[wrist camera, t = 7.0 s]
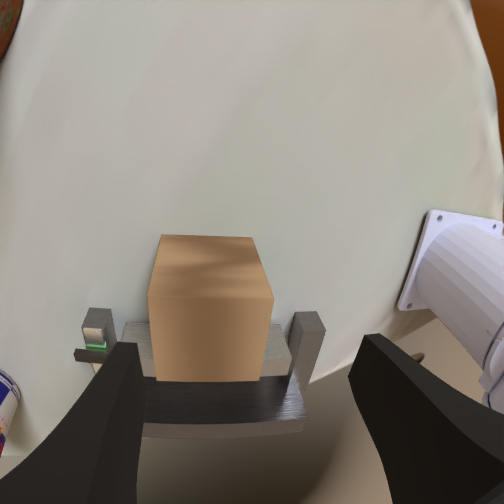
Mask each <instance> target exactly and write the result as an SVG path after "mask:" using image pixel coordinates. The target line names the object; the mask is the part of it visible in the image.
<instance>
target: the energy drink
mask: <svg viewBox="0 0 504 504" xmlns="http://www.w3.org/2000/svg"><path fill="white" fill-rule="evenodd" d="M19 400H20V392H19V390H18V387H17V385H16V384H15V382H14V381H13V380H12V379H11V378H10V377H9V376H8V375H7V374H6V373H5V372H3V371H2V370H0V457H1V453H2V450H3V447H4V443H5V440H6V437H7V434H8V431H9V428H10V425H11V422H12V419H13V416H14V414H15V411H16V408H17V405H18V403H19Z"/></svg>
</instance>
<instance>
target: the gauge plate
mask: <svg viewBox="0 0 504 504" xmlns="http://www.w3.org/2000/svg"><path fill="white" fill-rule="evenodd" d="M121 342H134V343H137V345H138V350H139V356H140V361H141V366H142V371H143V376H149V377H156V372H155V365H154V357H153V349H152V341H151V332H150V323H130V322H126V325H125V329H124V333H123V337H122V341H121ZM109 353H110V352H105V351H94V350H84V349H75V352H74V357H75V360H76V361H79V362H88V363H98V364H103V362H104V361H105V359H106V358H107V356H108V354H109ZM291 360H292V357H291V354H290V351H289V348H288V345H287V343H286V340H285V337H284V334H283V331H282V328H281V325H280V324H273V325H269V331H268V336H267V342H266V347H265V352H264V358H263V363H262V368H261V373H260V377H262V376H279V375H287V374H288V371H289V367H290V363H291Z"/></svg>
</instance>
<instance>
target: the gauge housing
mask: <svg viewBox="0 0 504 504" xmlns="http://www.w3.org/2000/svg"><path fill="white" fill-rule="evenodd" d="M81 328H82V332H83V335H84V339H85V343H86V348H87V350H94V351H105V352H110V351H111V350H112V348H113V346H114V345H115V344H116V343H117V340H116V335H115V330H114V324H113V319H112V313H111V309H101V308H89V310H88V312H87V315H86V317H85V320H84V322H83V325H82V327H81ZM325 332H326V329H325V327H324V325H323V323H322V321H321V319H320V317H319V315H318V314H317V312H316V311H315V312H295V316H294V321H293V325H292V329H291V334H290V338H289V342H288V348H289V351H290V354H291V357H292V360H291V363H290V367H289V371H288V374H287V375H279V376H262V377H260V379H259V381H233V382H177V381H157V379H156V377H149V376H144V380H145V385H146V396H145V417H144V424H143V431H142V437H152V438H176V439H214V438H215V439H217V438H241V437H256V436H267V435H277V434H287V433H296V432H302V431H303V428H304V426H305V424H306V422H307V419H308V414H307V411H306V409H305V406H304V403H303V400H302V397H301V394H300V391H305V390H306V389H307V386H308V383H309V380H310V378H311V375H312V372H313V369H314V366H315V363H316V360H317V357H318V354H319V351H320V348H321V345H322V342H323V338H324V335H325ZM101 365H102V364H98V363H92V366H93V370H94V373H95V375H96V373H97V371H98V370H99V368H100V367H101Z"/></svg>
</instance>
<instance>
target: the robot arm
mask: <svg viewBox="0 0 504 504" xmlns="http://www.w3.org/2000/svg"><path fill="white" fill-rule="evenodd" d="M438 216H439V218H438ZM437 218H438V219H437ZM502 230H503V222H501V221H499V220H493V219H488V218H483V217H477V216H471V215H465V214H459V213H453V212H447V211H441V210H434V209H433V210H430V211H429V212H428V214H427V216H426V220H425V224H424V227H423V230H422V234H421V237H420V240H419V244H418V247H417V250H416V253H415V256H414V259H413V262H412V265H411V268H410V271H409V274H408V277H407V280H406V282H405V285H404V288H403V291H402V293H401V296H400V299H399V301H398V304H397V308H398V309H399V310H400V311H410V310H421V309H431V310H432V312H433V313H434V314H435V315H436V316H437V317H438V318H439V319H440V320H441V321H442V323H443V324H444V325H445V326H446V327H447V328H448V329H449V331H450V332H451V333H452V334H453V335H454V336H455V337H456V339H457V340H458V341H459V342H460V343H461V344H462V346H463V347H464V348H465V349H466V350H467V352H468V353H469V354H470V355H471V356H472V358H473V359H474V360H475V361H476V363H477V364H478V365H479V366H480V367H481V369H482V370H483V374H482V375H481V377H480V379H479V383H480V384H481V385H482V387H483V388H484V389H485V393H484V395H483V398H482V404H480V403H478V402H476V401H474V400H473V399H471V398H469V397H467V396H466V395H464V394H462V393H461V392H459V391H457V390H456V389H454V388H453V387H451V386H450V385H448V384H447V383H445V382H444V381H442V380H441V379H439V378H438V377H437V376H435V375H434V374H432V373H431V372H430V371H429V370H427V369H426V368H424V367H423V366H422V365H421V364H419V363H418V362H417V361H415V360H414V359H413V358H412V357H410V356H409V355H408V354H406V353H405V352H404V351H403V350H401V349H400V348H399V347H397V346H396V345H395V344H394V343H392V342H391V341H390V340H388V339H387V338H385V337H384V336H383V335H381V334H380V333H378V334H370V335H364V337H363V340H362V343H361V345H360V348H359V350H358V353H357V355H356V358H355V360H354V363H353V365H352V368H351V370H350V372H349V375H348V378H349V382H350V385H351V389H352V392H353V395H354V399H355V402H356V404H357V406H358V409H359V411H360V413H361V415H362V417H363V419H364V422H365V424H366V426H367V428H368V431H369V433H370V435H371V437H372V439H373V441H374V444H375V446H376V448H377V450H378V453H379V455H380V458H381V461H382V464H383V467H384V471H385V474H386V477H387V481H388V485H389V489H390V493H391V498H392V502H393V504H504V236H503V235H501V233H502ZM145 396H146V385H145V380H144V376H143V371H142V366H141V361H140V356H139V350H138V345H137V343H134V342H117V343H116V344H115V345H114V346H113V348H112V350H111V351H110V353H109V354H108V356H107V358H106V359H105V361H104V362H103V364H102V365H101V367H100V368H99V370H98V371H97V373H96V375H95V376H94V377H93V379H92V380H91V382H90V383H89V385H88V386H87V387H86V389H85V390H84V392H83V393H82V395H81V396H80V397H79V399H78V400H77V401H76V403H75V404H74V405H73V406H72V408H71V409H70V410H69V412H68V413H67V414H66V416H65V417H64V418H63V419H62V420H61V422H60V423H59V424H58V425H57V426H56V428H55V429H54V430H53V431H52V432H51V433H50V434H49V435H48V436H47V438H46V439H45V440H44V441H43V442H42V443H41V444H40V445H39V446H38V447H37V448H36V449H35V450H34V451H33V452H32V453H31V454H30V455H29V456H28V457H27V458H26V459H24V460H23V461H22V462H21V463H20V464H19V465H18V466H16V467H15V468H14V469H13V470H12V471H10V472H9V473H8V474H7V475H5V476H4V477H3V478H2V479H0V504H137V500H136V482H137V469H138V461H139V453H140V446H141V438H142V431H143V424H144V417H145Z"/></svg>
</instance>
